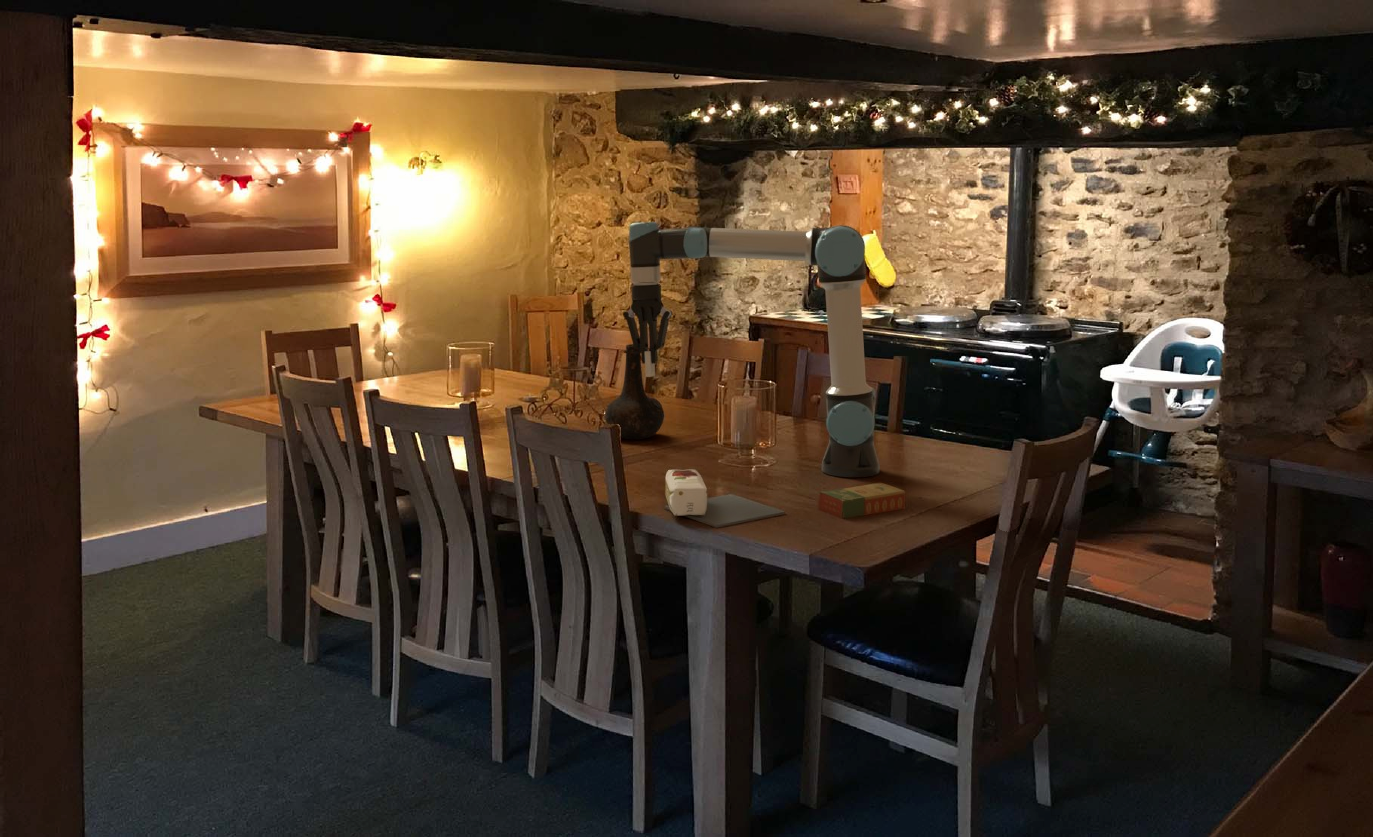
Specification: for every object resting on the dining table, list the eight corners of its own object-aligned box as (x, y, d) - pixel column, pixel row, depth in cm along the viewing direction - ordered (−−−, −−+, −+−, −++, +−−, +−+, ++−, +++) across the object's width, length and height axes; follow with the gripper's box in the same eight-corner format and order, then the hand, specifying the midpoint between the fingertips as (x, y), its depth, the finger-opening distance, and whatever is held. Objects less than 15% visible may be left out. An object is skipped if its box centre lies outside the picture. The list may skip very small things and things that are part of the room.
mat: (664, 508, 280) (664, 506, 280) (731, 496, 292) (731, 493, 292) (716, 527, 264) (716, 525, 264) (785, 513, 276) (785, 511, 276)
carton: (905, 510, 281) (906, 490, 280) (841, 520, 273) (842, 499, 272) (880, 500, 289) (880, 481, 289) (817, 510, 281) (818, 490, 280)
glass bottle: (650, 444, 351) (650, 349, 346) (595, 440, 357) (594, 346, 352) (673, 433, 367) (673, 342, 362) (619, 429, 373) (619, 339, 368)
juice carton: (699, 497, 289) (708, 518, 270) (663, 497, 288) (670, 518, 269) (699, 466, 287) (708, 485, 269) (664, 467, 286) (670, 486, 268)
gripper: (675, 282, 305) (679, 374, 309) (628, 283, 310) (632, 374, 314) (664, 284, 298) (668, 378, 302) (616, 285, 303) (621, 378, 307)
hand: (650, 376), depth 308 cm, fingers closed
